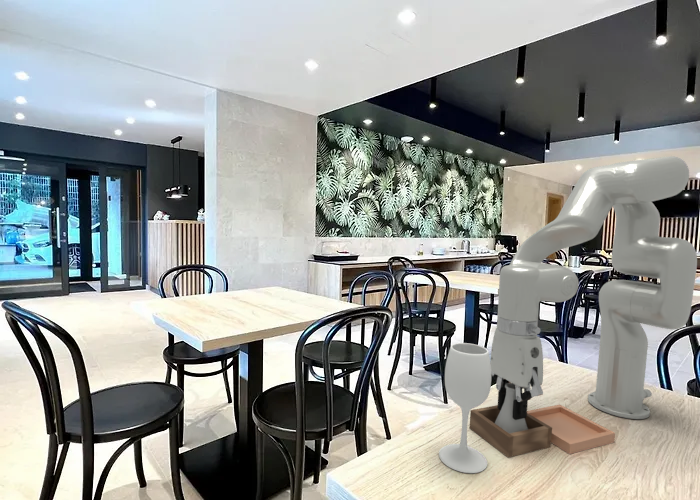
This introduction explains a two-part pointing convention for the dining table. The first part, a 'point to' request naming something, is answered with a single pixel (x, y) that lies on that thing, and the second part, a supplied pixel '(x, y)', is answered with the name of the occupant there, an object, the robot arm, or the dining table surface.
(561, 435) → the terracotta tray
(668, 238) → the robot arm
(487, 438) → the frame
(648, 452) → the dining table surface
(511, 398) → the flask
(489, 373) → the wineglass
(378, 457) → the dining table surface
